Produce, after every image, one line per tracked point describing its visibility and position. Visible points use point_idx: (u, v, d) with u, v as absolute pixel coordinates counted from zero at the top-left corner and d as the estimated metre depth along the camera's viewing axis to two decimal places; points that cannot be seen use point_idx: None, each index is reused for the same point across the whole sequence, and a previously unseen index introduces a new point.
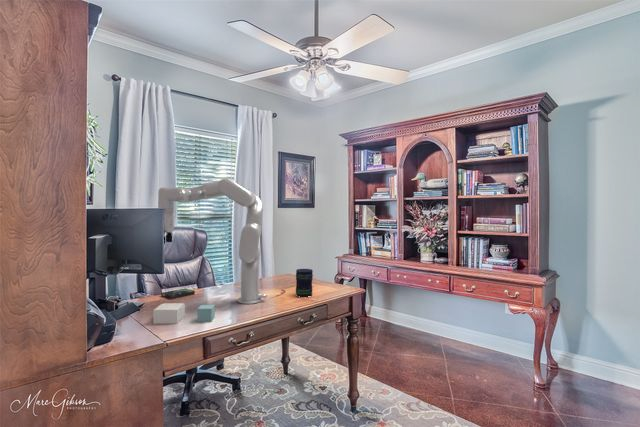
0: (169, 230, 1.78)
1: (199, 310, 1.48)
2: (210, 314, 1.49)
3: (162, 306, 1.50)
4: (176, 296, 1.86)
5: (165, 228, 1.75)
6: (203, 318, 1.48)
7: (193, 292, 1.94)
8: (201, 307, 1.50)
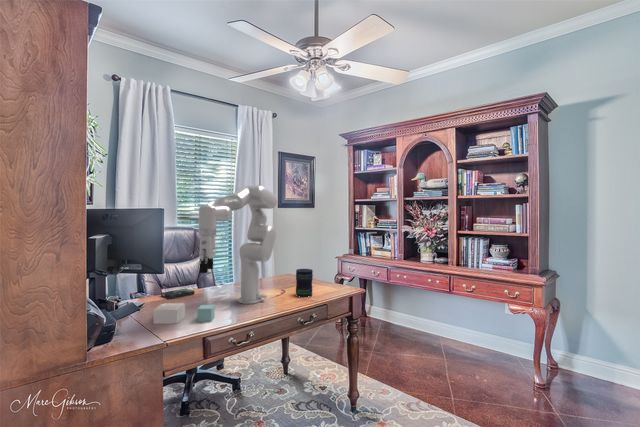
0: (212, 256, 1.49)
1: (199, 310, 1.48)
2: (210, 314, 1.49)
3: (162, 306, 1.50)
4: (176, 296, 1.86)
5: (208, 254, 1.46)
6: (203, 318, 1.48)
7: (193, 292, 1.94)
8: (201, 307, 1.50)
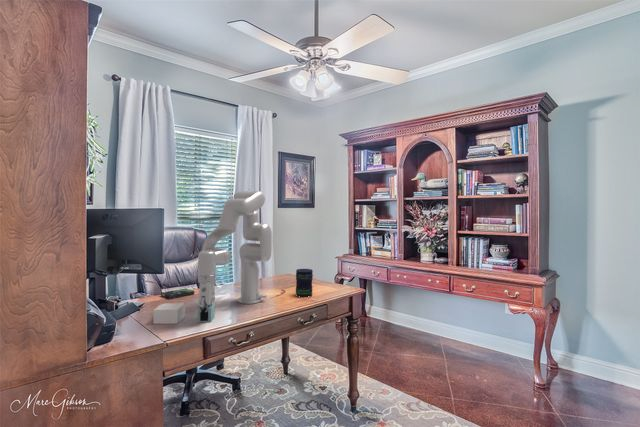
0: (211, 302, 1.49)
1: (199, 310, 1.48)
2: (210, 314, 1.49)
3: (162, 306, 1.50)
4: (175, 296, 1.86)
5: (207, 301, 1.46)
6: None
7: (193, 292, 1.94)
8: None
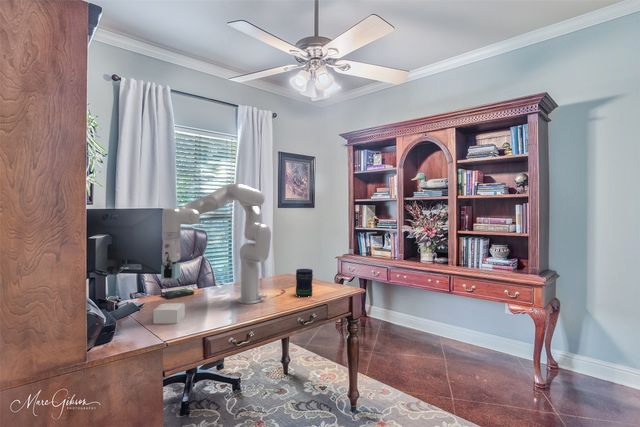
0: (175, 259, 1.48)
1: (163, 267, 1.47)
2: (174, 271, 1.47)
3: (162, 306, 1.50)
4: (175, 296, 1.86)
5: (171, 257, 1.45)
6: None
7: (192, 292, 1.94)
8: None
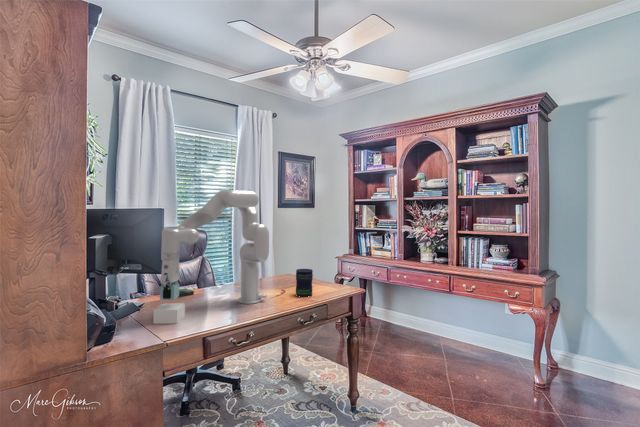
0: (174, 280, 1.48)
1: (162, 288, 1.47)
2: (173, 292, 1.47)
3: (162, 306, 1.50)
4: None
5: (170, 278, 1.45)
6: None
7: (192, 292, 1.94)
8: None
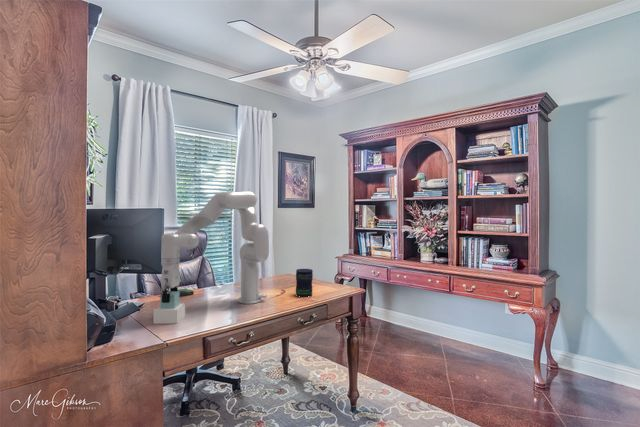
0: (174, 285, 1.48)
1: None
2: (173, 300, 1.47)
3: None
4: None
5: (170, 284, 1.45)
6: (166, 304, 1.47)
7: (192, 292, 1.94)
8: None
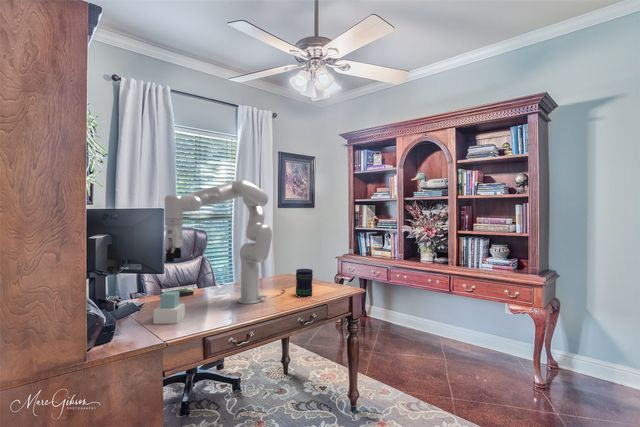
0: (178, 245, 1.51)
1: (162, 296, 1.47)
2: (173, 300, 1.47)
3: None
4: None
5: (174, 243, 1.48)
6: (166, 304, 1.47)
7: (192, 292, 1.94)
8: (164, 293, 1.49)
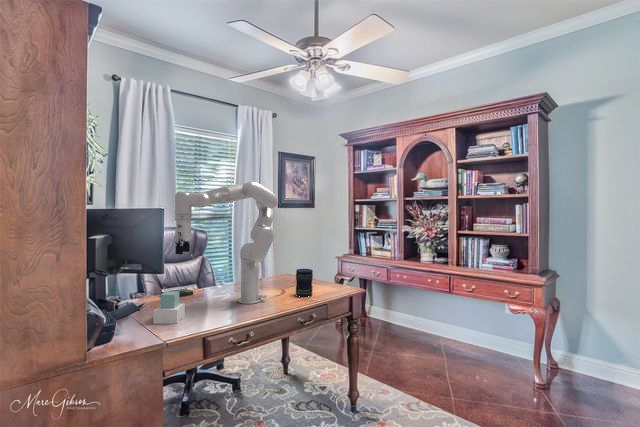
0: (187, 239, 1.61)
1: (162, 296, 1.47)
2: (173, 300, 1.47)
3: None
4: None
5: (183, 237, 1.58)
6: (166, 304, 1.47)
7: (192, 292, 1.94)
8: (164, 293, 1.49)
